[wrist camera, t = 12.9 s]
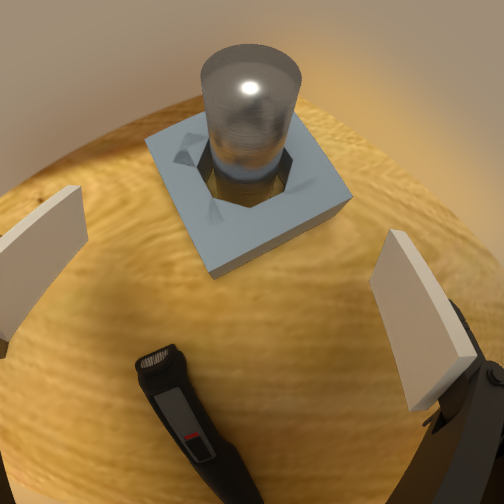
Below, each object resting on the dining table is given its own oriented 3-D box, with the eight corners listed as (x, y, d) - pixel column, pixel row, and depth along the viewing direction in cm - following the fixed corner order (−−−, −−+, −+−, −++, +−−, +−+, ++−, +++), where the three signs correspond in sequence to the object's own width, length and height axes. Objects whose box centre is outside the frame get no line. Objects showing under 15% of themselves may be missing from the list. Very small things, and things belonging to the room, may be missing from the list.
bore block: (334, 216, 22) (353, 196, 18) (214, 279, 21) (208, 272, 17) (268, 116, 23) (273, 85, 20) (157, 165, 22) (144, 139, 18)
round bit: (281, 199, 22) (320, 91, 10) (232, 223, 22) (227, 124, 10) (254, 157, 23) (269, 36, 11) (208, 178, 22) (185, 61, 10)
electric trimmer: (232, 513, 17) (232, 535, 14) (134, 359, 20) (119, 367, 16) (274, 499, 18) (279, 520, 15) (179, 340, 20) (169, 345, 17)
